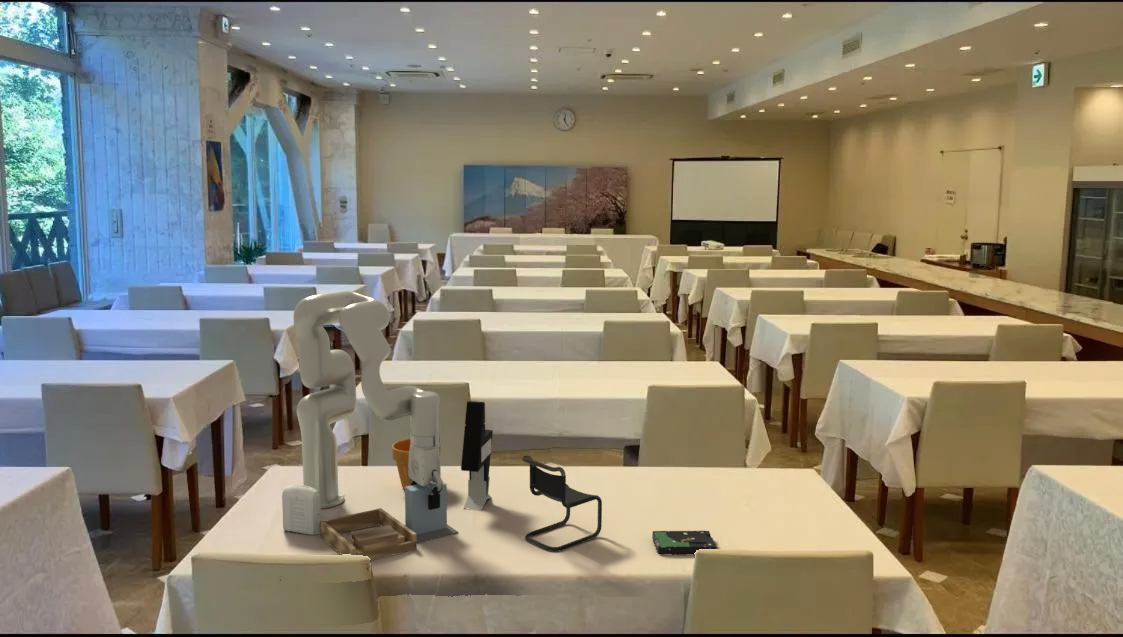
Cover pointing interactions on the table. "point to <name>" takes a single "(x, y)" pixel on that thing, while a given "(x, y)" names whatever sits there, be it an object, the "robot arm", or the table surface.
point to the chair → (558, 499)
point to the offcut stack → (375, 538)
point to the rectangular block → (424, 509)
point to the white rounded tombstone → (301, 509)
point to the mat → (435, 534)
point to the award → (476, 455)
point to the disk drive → (682, 542)
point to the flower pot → (403, 459)
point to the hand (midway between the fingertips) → (425, 502)
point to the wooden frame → (363, 520)
